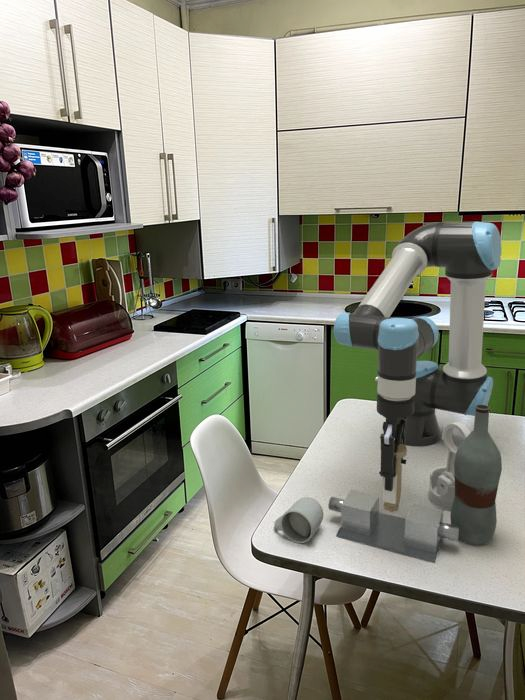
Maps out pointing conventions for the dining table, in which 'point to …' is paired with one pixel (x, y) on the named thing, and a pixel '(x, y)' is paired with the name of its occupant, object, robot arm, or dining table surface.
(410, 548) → the shaft bed
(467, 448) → the bottle
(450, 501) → the engine component
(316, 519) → the ceramic mug
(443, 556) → the dining table surface
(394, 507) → the handle
